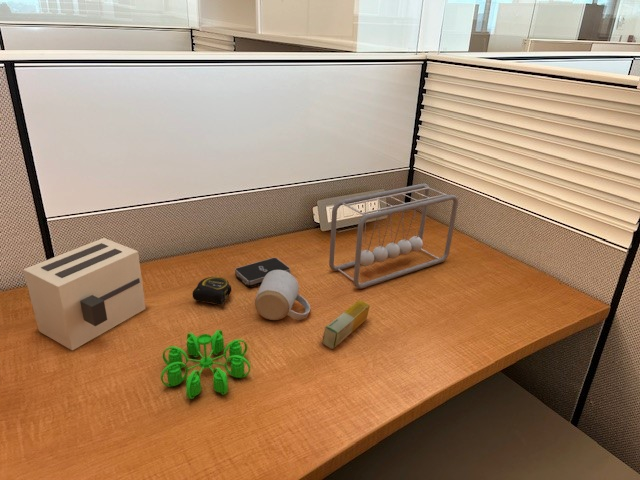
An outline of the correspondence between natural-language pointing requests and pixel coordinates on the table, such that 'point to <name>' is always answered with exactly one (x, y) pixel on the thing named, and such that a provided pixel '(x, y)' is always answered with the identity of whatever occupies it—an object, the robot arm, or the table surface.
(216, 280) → the tape measure
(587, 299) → the table surface
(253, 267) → the external hard drive
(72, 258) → the toaster
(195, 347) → the chandelier
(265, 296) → the ceramic mug
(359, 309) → the medication box
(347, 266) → the newton's cradle
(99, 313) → the slider button
